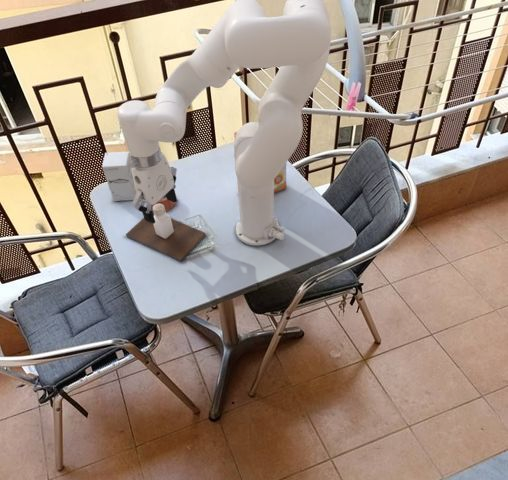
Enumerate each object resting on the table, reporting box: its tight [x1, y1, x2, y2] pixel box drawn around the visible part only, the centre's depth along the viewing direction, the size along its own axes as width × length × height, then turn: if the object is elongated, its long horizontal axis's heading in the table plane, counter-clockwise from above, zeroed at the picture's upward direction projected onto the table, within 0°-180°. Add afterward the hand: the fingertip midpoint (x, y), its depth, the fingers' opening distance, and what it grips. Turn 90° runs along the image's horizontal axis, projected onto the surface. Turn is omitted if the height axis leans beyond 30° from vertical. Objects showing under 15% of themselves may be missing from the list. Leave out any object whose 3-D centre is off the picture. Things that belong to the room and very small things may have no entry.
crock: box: [150, 195, 176, 212], centre depth 141 cm, size 8×8×4 cm
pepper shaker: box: [152, 204, 174, 239], centre depth 130 cm, size 4×4×10 cm
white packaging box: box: [101, 150, 137, 202], centre depth 141 cm, size 7×7×13 cm
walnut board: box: [125, 210, 207, 262], centre depth 134 cm, size 20×12×1 cm, turn 58°
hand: (161, 210), depth 127 cm, fingers open, 9 cm apart
